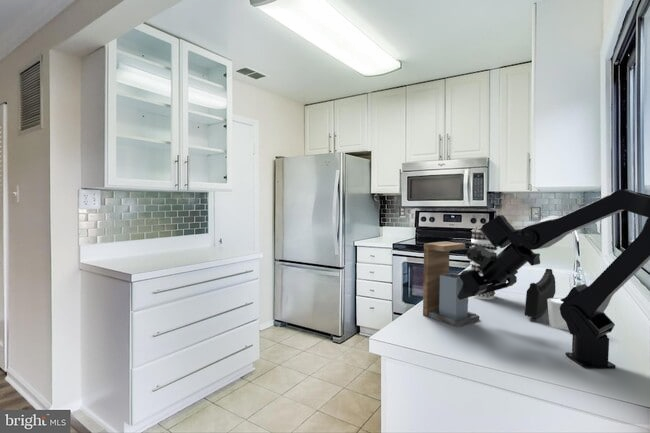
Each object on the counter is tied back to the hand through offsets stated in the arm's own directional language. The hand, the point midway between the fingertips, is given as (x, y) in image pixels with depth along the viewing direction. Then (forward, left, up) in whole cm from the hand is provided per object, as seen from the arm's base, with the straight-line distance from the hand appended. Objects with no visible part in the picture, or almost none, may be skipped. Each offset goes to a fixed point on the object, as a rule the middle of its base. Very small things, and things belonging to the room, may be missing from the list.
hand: (468, 295), depth 101 cm
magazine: (+14, -28, -8) cm, 33 cm away
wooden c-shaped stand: (+4, +3, -8) cm, 9 cm away
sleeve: (+4, +3, -8) cm, 9 cm away
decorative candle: (+28, -16, -8) cm, 33 cm away
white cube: (-2, -25, -8) cm, 26 cm away
